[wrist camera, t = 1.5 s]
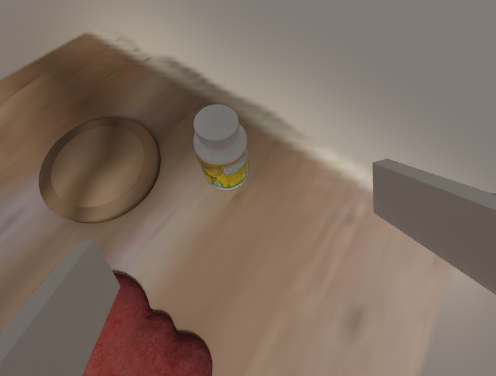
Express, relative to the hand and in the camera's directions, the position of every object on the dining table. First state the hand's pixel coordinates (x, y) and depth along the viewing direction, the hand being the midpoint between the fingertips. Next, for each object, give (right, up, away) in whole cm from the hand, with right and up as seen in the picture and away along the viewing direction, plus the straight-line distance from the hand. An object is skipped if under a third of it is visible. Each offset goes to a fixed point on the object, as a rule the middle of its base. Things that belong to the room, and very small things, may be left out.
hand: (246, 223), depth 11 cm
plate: (-18, +4, +19) cm, 27 cm away
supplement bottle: (-3, +4, +19) cm, 20 cm away
